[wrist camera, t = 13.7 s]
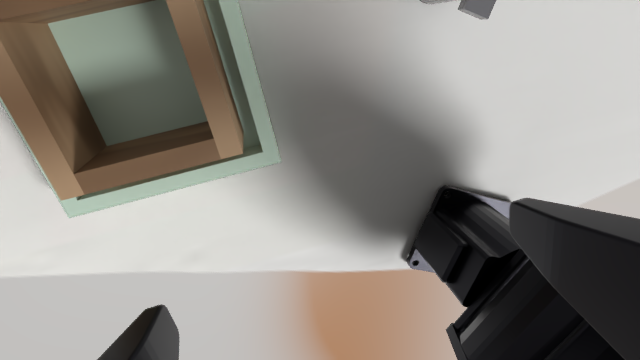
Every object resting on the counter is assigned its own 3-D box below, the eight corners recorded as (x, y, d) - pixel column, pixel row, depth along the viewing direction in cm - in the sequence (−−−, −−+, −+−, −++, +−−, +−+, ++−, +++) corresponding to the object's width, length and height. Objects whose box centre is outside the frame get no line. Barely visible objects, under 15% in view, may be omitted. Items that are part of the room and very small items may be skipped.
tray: (278, 150, 21) (281, 162, 19) (85, 201, 20) (69, 218, 18) (186, -189, 15) (177, -219, 13) (-103, -139, 14) (-156, -165, 12)
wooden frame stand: (243, 130, 20) (243, 153, 16) (96, 168, 19) (61, 200, 15) (159, -144, 15) (130, -201, 11) (-45, -107, 14) (-147, -155, 10)
